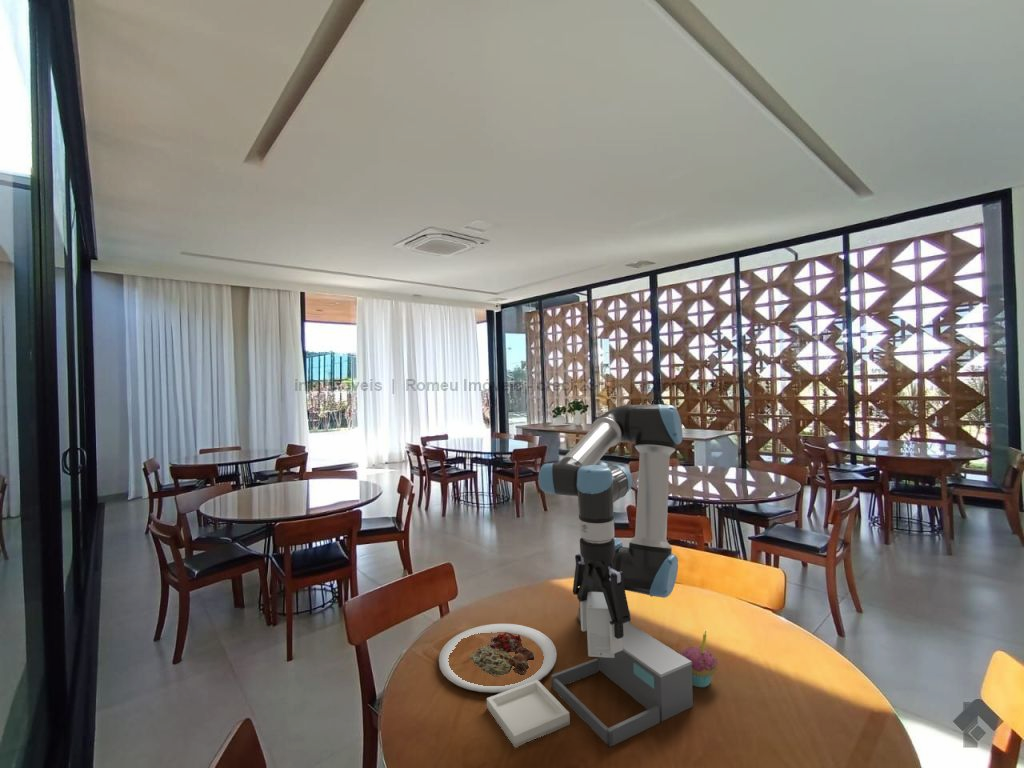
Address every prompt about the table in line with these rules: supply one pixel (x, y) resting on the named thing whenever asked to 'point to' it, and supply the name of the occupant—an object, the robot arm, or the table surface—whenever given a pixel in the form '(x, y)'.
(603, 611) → the small box
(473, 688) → the plated food
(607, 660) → the printer
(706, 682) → the cupcake
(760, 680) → the table surface
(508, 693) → the tray
